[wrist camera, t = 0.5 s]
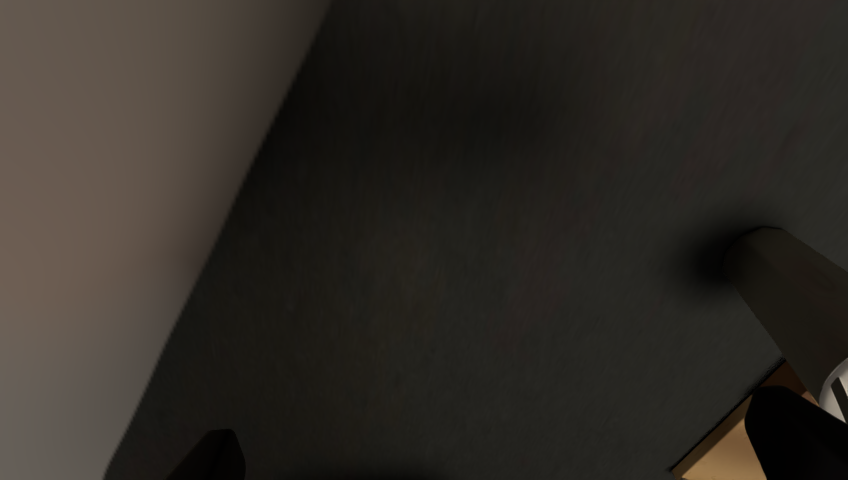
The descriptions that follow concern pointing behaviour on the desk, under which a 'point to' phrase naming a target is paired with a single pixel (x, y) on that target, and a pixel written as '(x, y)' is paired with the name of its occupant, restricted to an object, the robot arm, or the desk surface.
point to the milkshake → (797, 308)
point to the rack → (734, 441)
